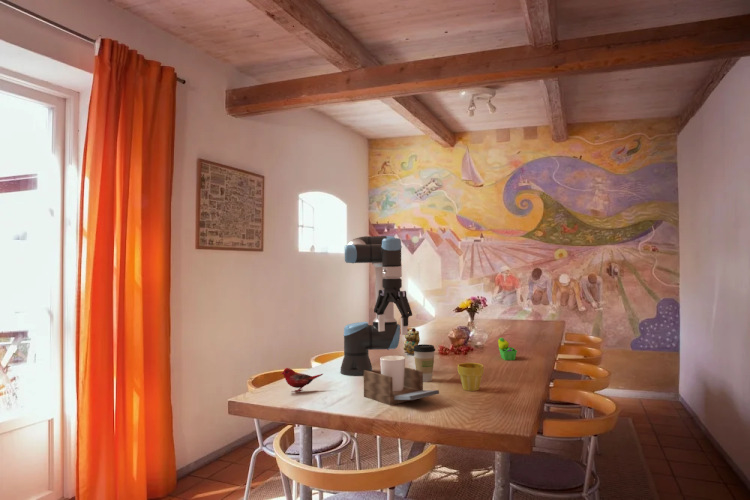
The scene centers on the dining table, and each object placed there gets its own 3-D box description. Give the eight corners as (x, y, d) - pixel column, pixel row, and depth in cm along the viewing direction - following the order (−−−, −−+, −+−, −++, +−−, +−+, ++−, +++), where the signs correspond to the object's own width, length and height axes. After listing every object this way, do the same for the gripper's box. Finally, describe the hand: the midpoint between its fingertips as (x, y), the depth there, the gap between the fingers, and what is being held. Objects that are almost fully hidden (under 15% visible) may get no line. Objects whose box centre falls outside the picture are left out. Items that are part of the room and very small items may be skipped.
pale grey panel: (393, 396, 188) (412, 396, 180) (420, 390, 196) (438, 390, 188) (394, 399, 188) (412, 399, 180) (420, 393, 196) (439, 393, 188)
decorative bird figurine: (280, 392, 207) (280, 367, 207) (322, 388, 214) (322, 364, 214) (281, 394, 204) (281, 369, 204) (324, 389, 211) (324, 365, 212)
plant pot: (468, 393, 202) (468, 368, 203) (452, 388, 212) (452, 364, 212) (489, 390, 207) (488, 365, 207) (473, 385, 216) (472, 361, 217)
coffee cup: (434, 383, 221) (434, 348, 221) (412, 382, 223) (411, 347, 223) (436, 378, 230) (436, 344, 231) (414, 377, 232) (414, 343, 233)
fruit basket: (517, 360, 269) (517, 339, 269) (500, 360, 269) (500, 339, 269) (512, 356, 280) (511, 335, 281) (496, 356, 281) (495, 336, 281)
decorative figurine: (402, 355, 287) (402, 328, 288) (404, 352, 295) (404, 326, 296) (420, 355, 286) (419, 328, 286) (421, 353, 294) (420, 326, 294)
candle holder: (379, 386, 203) (378, 355, 204) (403, 385, 204) (403, 355, 204) (381, 392, 193) (380, 360, 194) (407, 391, 194) (406, 359, 194)
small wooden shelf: (363, 396, 200) (363, 370, 200) (396, 389, 210) (395, 365, 210) (390, 405, 187) (389, 377, 187) (423, 397, 197) (422, 371, 197)
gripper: (364, 277, 207) (365, 330, 206) (406, 278, 187) (406, 337, 187) (379, 277, 212) (379, 329, 211) (421, 278, 192) (421, 335, 192)
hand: (392, 333), depth 199 cm, fingers open, 13 cm apart
